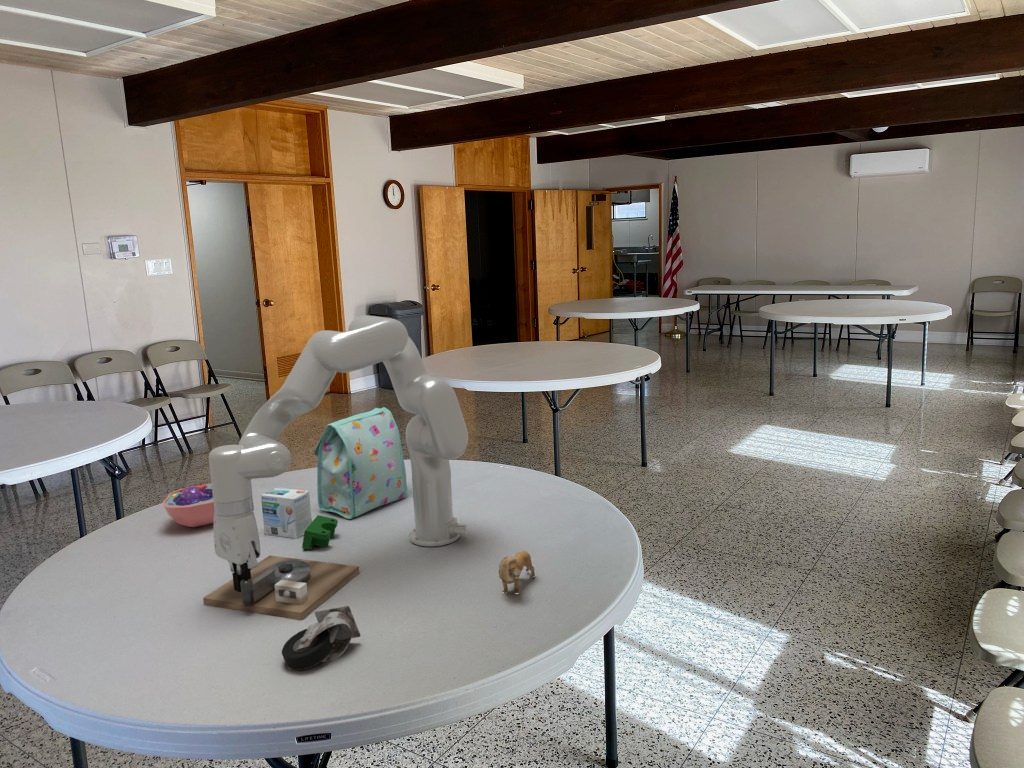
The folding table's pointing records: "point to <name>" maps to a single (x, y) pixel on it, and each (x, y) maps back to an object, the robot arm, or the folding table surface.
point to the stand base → (267, 603)
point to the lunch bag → (360, 464)
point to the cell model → (191, 505)
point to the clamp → (319, 532)
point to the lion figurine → (514, 569)
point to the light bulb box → (286, 512)
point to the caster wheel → (321, 639)
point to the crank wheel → (273, 579)
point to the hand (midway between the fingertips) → (243, 588)
